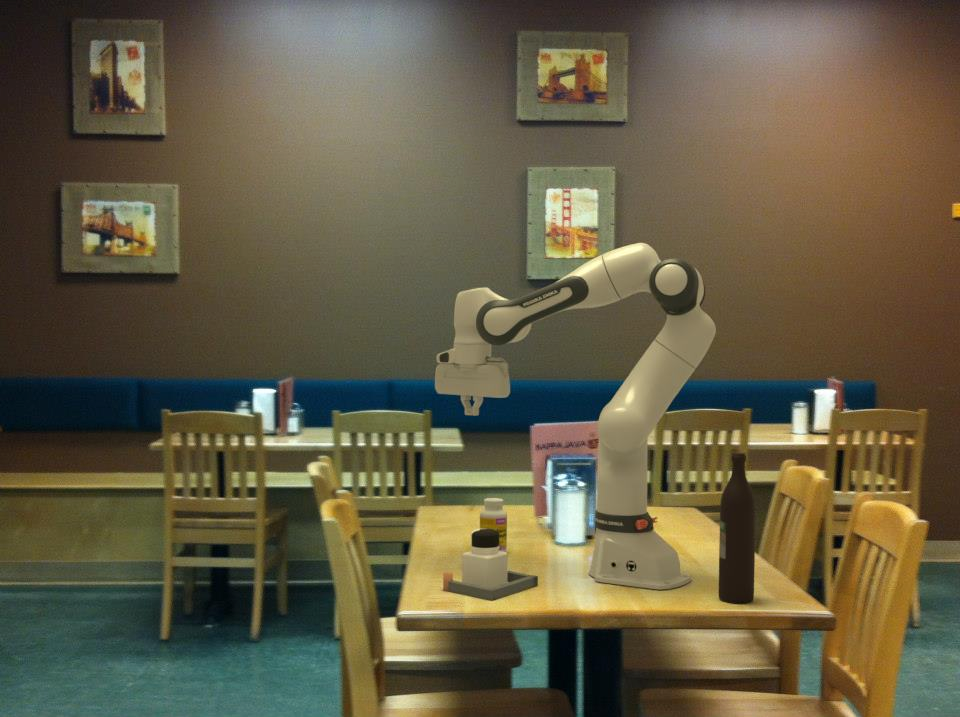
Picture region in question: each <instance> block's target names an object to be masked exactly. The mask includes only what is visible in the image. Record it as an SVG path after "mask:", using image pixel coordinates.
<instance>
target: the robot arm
mask: <svg viewBox="0 0 960 717" xmlns="http://www.w3.org/2000/svg"><path fill="white" fill-rule="evenodd" d="M641 292H645V293H650V294H651V295H652V297H653V298H654V300H655V302H656V304H658V306H660V308H661V309H662V310H663V312H664V313H665V314H666V320H665V323H664V325H663V327H662V329H661V330H660V331H659V333H658V334H657V336H656V337H655V338H654V339H653V341H652V342H651V343H650V345H649V347H647V349H646V350H645V352H644V354H642V356H641V357H640V359H639V360H638V361H637V363H636V364H635V366H634V367H633V368H632V369H631V371H630V373H629V374H628V376H627V377H626V378H625V380H624V381H623V383H622V385H620V387H619V389H618V390H617V391H616V392H615V394H614V396H613V397H612V399H611V400H610V401H609V402H608V403H607V404H606V405H605V406H604V407H603V408H602V410H601V412H600V414H599V418H598V422H597V433H598V447H597V448H598V449H597V451H598V452H597V475H596V476H597V477H596V478H597V482H596V483H597V484H596V488H597V489H596V493H597V494H596V510H595V511H594V531H595V532H594V533H595V540H594V548H593V554H592V560H591V564H590V568H589V570H588V574H589V575H590V576H591V577H593V578H594V581H595V582H598V583H605V584H613V585H620V586H626V587H627V586H628V587H636V588H643V589H651V590H659V591H660V590H670V589H671V590H672V589H675V588H678V587H681V586H684V585H687V584H688V583H690V582H691V574H689V573H687V572H683V571H681V564H680V563H681V562H680V557H679V554H678V552H677V550H676V549H675V548H673V546H672V545H671V544H669V543H668V542H667V541H666V540H665V539H664V538H663V537H661V536H660V534H659V533H657V532H656V530H655V526H654V524H655V523H658V520H657V519H658V517H657V516H655V517H652V516H651V515H650V514H649V512H648V437H649V436H650V434H651V433H652V432H653V431H654V429H655V428H656V426H657V425H658V423H659V421H660V420H661V419H662V418H663V416H664V414H665V413H666V411H667V410H668V409H669V406H670V405H671V403H672V402H673V400H674V399H675V398H676V396H678V394H679V392H680V391H681V389H682V388H683V386H684V385H685V384H686V383H687V382H688V380H689V379H690V377H691V376H692V374H693V373H694V372H695V370H696V369H697V367H698V366H699V365H700V363H701V362H702V360H703V359H704V357H705V355H706V354H707V352H708V350H709V348H710V347H711V345H712V344H713V343H712V342H713V340H714V339H715V336H716V332H717V329H716V324H715V322H714V321H713V319H712V318H711V317H710V316H709V314H708V313H706V312H705V311H704V310H703V309H702V307H701V306H702V304H703V302H704V301H705V296H706V287H705V283H704V281H703V278H702V276H701V274H700V272H699V271H698V270H697V268H696V267H694V265H692V264H691V263H690V262H689V261H687V260H685V259H682V258H680V257H679V258H678V257H670V258H665V259H664V260H661V259H660V257H659V255H658V253H657V252H656V250H655V249H654V248H653V247H652V246H650V245H649V244H648V243H645V242H637V243H633V244H632V243H631V244H629V245H625V246H622V247H618V248H615V249H613V250H609V251H607V252H605V253H603V254H601V255H598V256H595V257H594V258H592V259H590V260H589V261H586V262H585V263H583V264H582V265H580V266H579V267H577V268H576V269H574V270H573V271H571V272H569V273H568V274H566V275H565V276H564V277H561V278H560V279H559V280H557V281H555V282H554V283H552V284H549V285H547V286H545V287H542V288H540V289H536V291H532V292H531V293H528V294H525V295H522V296H520V297H518V298H514V299H508V298H506V297H503V296H500V295H499V294H497V293H496V292H494V291H492V290H491V288H489V287H487V286H475V287H473V286H472V287H468V288H465V289H462V290H461V291H459V292H458V293H457V295H456V298H455V304H454V313H453V327H454V331H455V335H454V336H455V337H454V339H453V348H450V349H448V350H446V351H442V352H440V353H438V354H436V357H435V358H436V363H437V366H436V368H435V375H434V389H435V391H436V393H437V394H438V395H453V396H454V395H455V396H460V401H461V404H462V406H463V408H464V415H465V416H474V417H475V416H479V414H480V407H481V406H482V404H483V402H484V398H494V399H495V398H498V399H501V398H502V399H503V398H508V397H509V395H510V394H511V382H510V381H511V380H510V374H509V363H508V362H507V360H505V359H504V358H503V357H496V356H495V357H493V356H492V345H493V346H503V345H506V344H511V343H517V342H520V341H521V340H523V339H525V338H526V337H527V336H528V335H529V333H531V330H532V327H533V324H534V323H535V322H539V321H540V320H543V319H545V318H548V317H551V316H552V315H555V314H557V313H560V312H565V311H568V310H577V309H594V308H599V307H603V306H607V305H611V304H613V303H616V302H619V301H621V300H624V299H626V298H629V297H630V296H631V295H635V294H638V293H641ZM471 400H472V401H473V402H474V403H473V405H471V402H470V401H471Z"/></svg>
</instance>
